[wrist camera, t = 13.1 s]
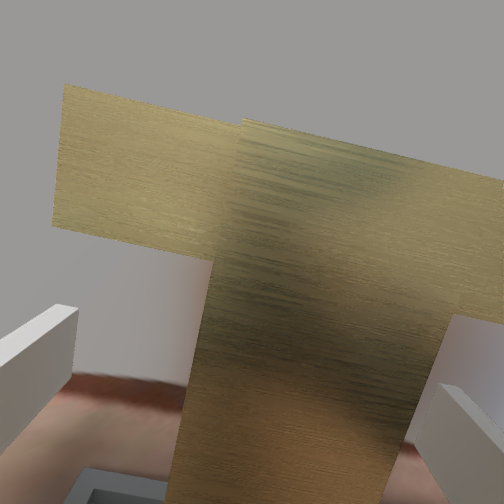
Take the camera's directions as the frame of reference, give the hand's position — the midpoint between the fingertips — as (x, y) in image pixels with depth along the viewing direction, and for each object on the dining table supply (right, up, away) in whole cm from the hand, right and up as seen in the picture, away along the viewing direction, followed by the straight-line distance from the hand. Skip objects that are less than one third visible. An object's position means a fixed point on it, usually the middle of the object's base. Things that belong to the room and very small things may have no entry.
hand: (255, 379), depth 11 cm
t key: (-2, -11, -1) cm, 11 cm away
